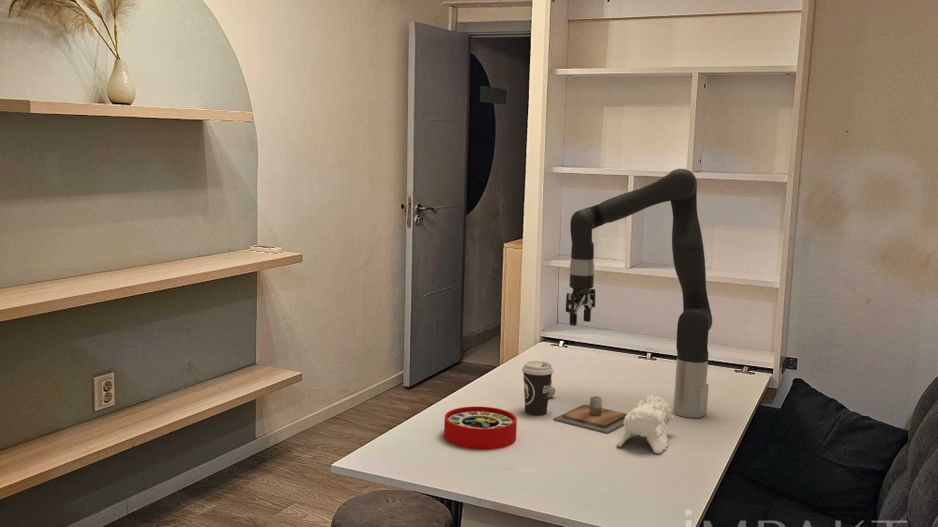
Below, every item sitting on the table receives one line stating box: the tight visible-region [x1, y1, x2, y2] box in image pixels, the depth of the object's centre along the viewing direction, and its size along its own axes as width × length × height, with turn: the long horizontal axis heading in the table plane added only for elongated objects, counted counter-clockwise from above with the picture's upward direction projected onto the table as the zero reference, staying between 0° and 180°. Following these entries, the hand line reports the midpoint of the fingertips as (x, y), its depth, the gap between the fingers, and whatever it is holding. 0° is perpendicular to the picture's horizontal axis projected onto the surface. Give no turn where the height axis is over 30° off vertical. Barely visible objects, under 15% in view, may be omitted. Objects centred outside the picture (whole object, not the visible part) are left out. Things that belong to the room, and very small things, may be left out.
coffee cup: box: [521, 360, 554, 417], centre depth 263 cm, size 10×10×15 cm
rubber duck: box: [548, 379, 556, 399], centre depth 280 cm, size 5×7×8 cm
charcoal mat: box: [552, 404, 625, 435], centre depth 259 cm, size 18×18×1 cm
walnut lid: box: [563, 395, 628, 429], centre depth 258 cm, size 14×14×6 cm
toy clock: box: [443, 405, 518, 451], centre depth 240 cm, size 20×6×20 cm
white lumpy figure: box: [616, 394, 675, 455], centre depth 240 cm, size 13×12×20 cm
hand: (580, 323), depth 276 cm, fingers open, 8 cm apart
